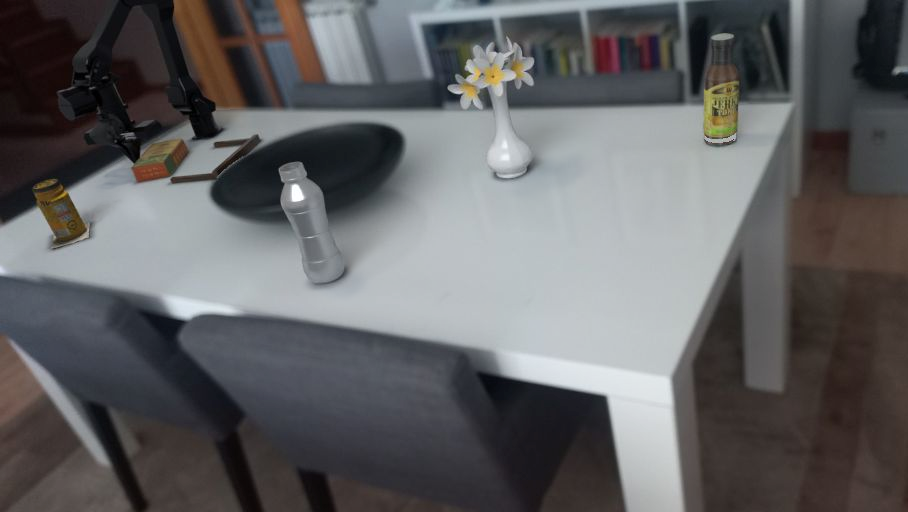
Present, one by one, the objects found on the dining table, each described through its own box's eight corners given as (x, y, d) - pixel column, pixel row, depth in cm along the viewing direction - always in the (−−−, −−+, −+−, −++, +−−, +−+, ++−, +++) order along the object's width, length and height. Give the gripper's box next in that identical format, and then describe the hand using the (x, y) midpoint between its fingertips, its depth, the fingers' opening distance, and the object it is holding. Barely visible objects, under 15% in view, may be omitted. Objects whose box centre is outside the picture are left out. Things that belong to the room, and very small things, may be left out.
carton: (189, 152, 190) (183, 136, 187) (170, 176, 176) (163, 160, 174) (158, 157, 190) (151, 142, 187) (136, 183, 176) (129, 166, 174)
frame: (217, 146, 190) (214, 138, 189) (260, 141, 187) (258, 134, 186) (171, 183, 172) (168, 175, 171) (219, 178, 169) (216, 171, 168)
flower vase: (461, 193, 140) (433, 64, 126) (503, 153, 153) (481, 33, 140) (522, 197, 134) (500, 62, 121) (560, 155, 147) (543, 29, 134)
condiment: (89, 223, 159) (63, 173, 152) (89, 238, 152) (61, 186, 146) (54, 235, 157) (26, 184, 150) (51, 250, 150) (22, 198, 144)
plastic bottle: (311, 271, 123) (272, 162, 113) (350, 264, 123) (315, 154, 113) (305, 291, 118) (264, 179, 107) (346, 284, 118) (309, 170, 107)
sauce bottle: (711, 150, 137) (710, 44, 126) (698, 139, 142) (695, 36, 132) (744, 143, 137) (745, 36, 127) (729, 132, 143) (729, 29, 132)
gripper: (55, 121, 171) (86, 181, 179) (123, 112, 167) (151, 174, 175) (85, 104, 180) (113, 162, 188) (150, 96, 176) (176, 155, 184)
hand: (137, 164), depth 184 cm, fingers closed
